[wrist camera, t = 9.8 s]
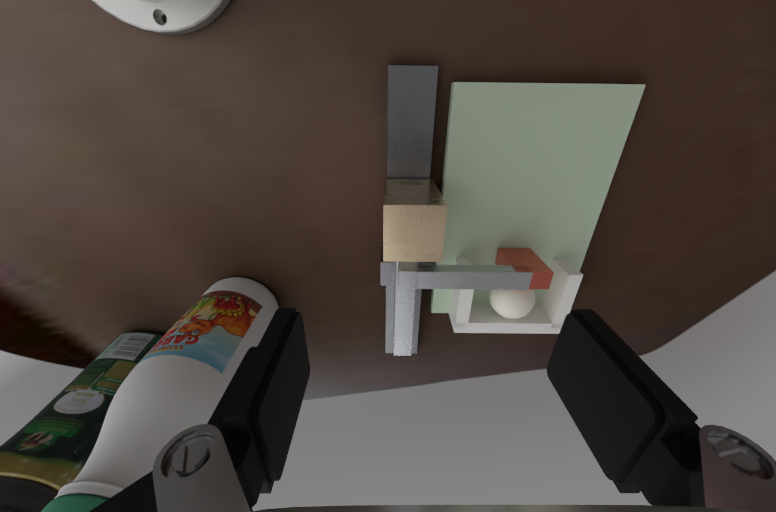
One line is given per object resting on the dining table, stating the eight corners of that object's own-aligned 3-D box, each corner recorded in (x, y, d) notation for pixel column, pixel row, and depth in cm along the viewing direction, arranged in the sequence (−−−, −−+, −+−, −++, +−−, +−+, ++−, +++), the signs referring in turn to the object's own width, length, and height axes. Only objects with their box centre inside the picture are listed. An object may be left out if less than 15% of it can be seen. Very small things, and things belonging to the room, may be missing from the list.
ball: (501, 312, 25) (486, 323, 29) (548, 312, 25) (527, 323, 29) (494, 268, 27) (481, 284, 31) (538, 269, 27) (520, 284, 31)
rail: (381, 66, 22) (380, 61, 19) (443, 67, 22) (451, 61, 19) (381, 347, 35) (380, 369, 32) (420, 348, 35) (423, 370, 32)
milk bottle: (295, 305, 32) (181, 556, 14) (255, 343, 35) (115, 596, 17) (233, 260, 30) (3, 497, 12) (194, 304, 32) (-44, 555, 14)
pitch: (451, 82, 23) (454, 82, 22) (635, 85, 23) (645, 84, 22) (430, 307, 32) (431, 312, 31) (559, 308, 32) (564, 314, 31)
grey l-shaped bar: (384, 178, 25) (383, 204, 18) (547, 180, 25) (600, 207, 19) (383, 342, 33) (382, 398, 27) (505, 343, 33) (532, 399, 27)
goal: (455, 257, 28) (462, 273, 26) (565, 258, 28) (583, 275, 26) (448, 312, 31) (454, 332, 29) (547, 313, 31) (561, 333, 29)
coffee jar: (198, 388, 38) (54, 605, 22) (133, 381, 38) (-65, 599, 21) (188, 331, 34) (-2, 549, 17) (114, 322, 33) (-154, 539, 17)
